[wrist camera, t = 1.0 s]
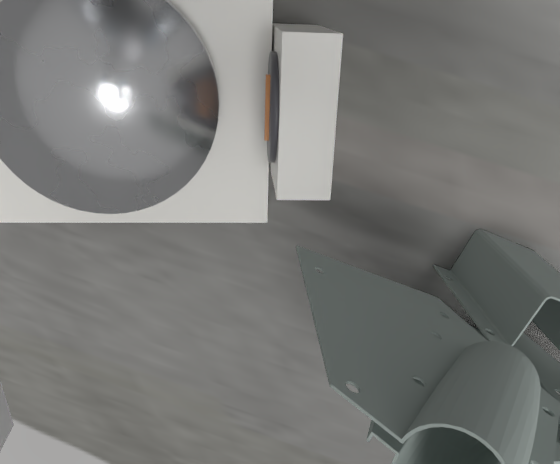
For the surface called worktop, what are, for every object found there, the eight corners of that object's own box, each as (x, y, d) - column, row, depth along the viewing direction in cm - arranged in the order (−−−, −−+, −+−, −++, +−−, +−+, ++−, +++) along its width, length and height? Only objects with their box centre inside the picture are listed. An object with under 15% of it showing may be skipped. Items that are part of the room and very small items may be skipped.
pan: (-43, -35, 23) (-54, -36, 22) (217, -25, 24) (217, -26, 23) (3, 206, 27) (-5, 213, 26) (220, 207, 28) (220, 214, 27)
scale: (-30, -57, 25) (-123, -74, 18) (321, -41, 26) (349, -53, 20) (16, 205, 30) (-43, 262, 24) (307, 206, 31) (325, 260, 25)
